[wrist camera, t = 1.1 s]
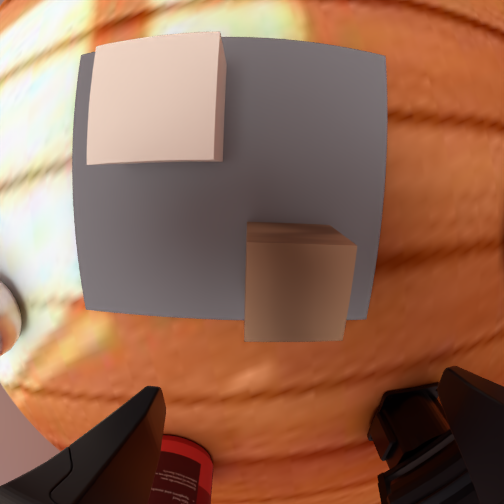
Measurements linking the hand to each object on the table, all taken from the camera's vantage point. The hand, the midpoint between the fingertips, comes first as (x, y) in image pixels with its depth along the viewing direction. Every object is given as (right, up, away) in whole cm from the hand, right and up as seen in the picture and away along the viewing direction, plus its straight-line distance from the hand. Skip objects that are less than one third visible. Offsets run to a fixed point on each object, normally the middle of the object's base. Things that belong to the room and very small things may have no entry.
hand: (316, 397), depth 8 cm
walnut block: (0, +4, +11) cm, 11 cm away
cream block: (-6, +12, +8) cm, 16 cm away
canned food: (-9, -16, +17) cm, 25 cm away
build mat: (-4, +9, +10) cm, 14 cm away
